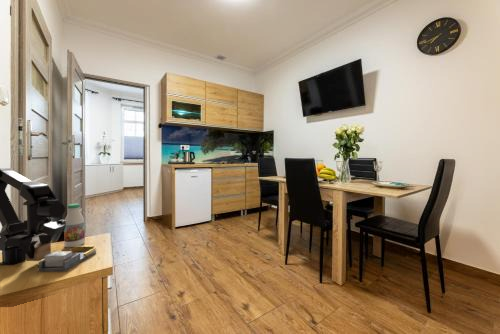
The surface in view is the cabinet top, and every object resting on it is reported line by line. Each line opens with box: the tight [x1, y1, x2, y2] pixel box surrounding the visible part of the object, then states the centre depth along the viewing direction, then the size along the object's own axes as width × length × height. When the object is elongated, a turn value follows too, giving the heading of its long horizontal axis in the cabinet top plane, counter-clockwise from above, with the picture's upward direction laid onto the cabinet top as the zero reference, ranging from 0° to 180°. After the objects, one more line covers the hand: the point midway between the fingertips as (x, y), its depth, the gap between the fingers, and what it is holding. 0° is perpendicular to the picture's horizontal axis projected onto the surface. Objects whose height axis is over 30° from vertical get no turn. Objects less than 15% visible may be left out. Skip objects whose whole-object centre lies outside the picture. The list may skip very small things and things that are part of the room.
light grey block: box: [44, 250, 72, 267], centre depth 82 cm, size 7×5×4 cm
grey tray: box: [37, 245, 97, 273], centre depth 87 cm, size 10×16×4 cm, turn 2°
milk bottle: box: [63, 203, 86, 248], centre depth 104 cm, size 8×8×20 cm
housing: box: [25, 242, 52, 262], centre depth 84 cm, size 5×5×5 cm
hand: (38, 255), depth 84 cm, fingers closed on housing, 5 cm apart
